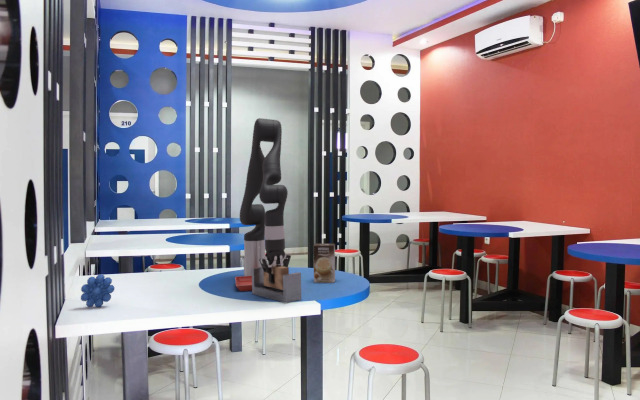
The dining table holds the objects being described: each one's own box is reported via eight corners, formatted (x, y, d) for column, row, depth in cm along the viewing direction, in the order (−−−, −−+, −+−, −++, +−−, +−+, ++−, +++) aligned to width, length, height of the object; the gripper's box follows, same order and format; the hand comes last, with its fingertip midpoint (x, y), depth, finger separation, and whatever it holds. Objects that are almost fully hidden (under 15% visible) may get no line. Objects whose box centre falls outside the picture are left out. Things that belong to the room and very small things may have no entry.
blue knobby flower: (117, 303, 199) (116, 271, 199) (113, 307, 193) (112, 274, 192) (84, 305, 197) (82, 273, 197) (79, 309, 191) (77, 276, 190)
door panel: (263, 285, 208) (263, 264, 207) (270, 284, 210) (269, 264, 209) (282, 290, 199) (282, 268, 198) (289, 288, 201) (288, 267, 200)
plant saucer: (281, 290, 217) (281, 282, 217) (236, 293, 214) (235, 285, 214) (277, 281, 235) (276, 274, 234) (235, 284, 232) (235, 276, 231)
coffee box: (313, 282, 229) (312, 245, 228) (314, 279, 235) (314, 243, 234) (334, 282, 228) (334, 245, 227) (335, 279, 234) (335, 243, 234)
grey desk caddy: (252, 293, 210) (251, 268, 210) (267, 290, 215) (266, 266, 214) (286, 303, 194) (285, 275, 194) (301, 299, 199) (300, 272, 198)
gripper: (283, 235, 211) (284, 278, 212) (253, 238, 202) (255, 284, 202) (295, 236, 205) (296, 281, 206) (265, 240, 196) (266, 287, 197)
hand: (276, 282), depth 204 cm, fingers closed on door panel, 3 cm apart
